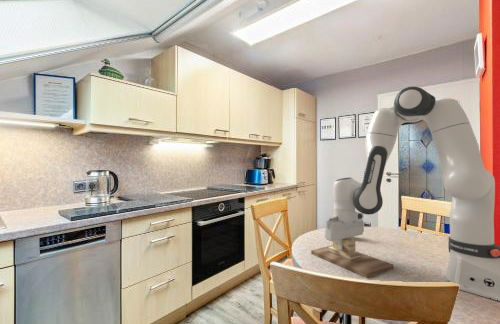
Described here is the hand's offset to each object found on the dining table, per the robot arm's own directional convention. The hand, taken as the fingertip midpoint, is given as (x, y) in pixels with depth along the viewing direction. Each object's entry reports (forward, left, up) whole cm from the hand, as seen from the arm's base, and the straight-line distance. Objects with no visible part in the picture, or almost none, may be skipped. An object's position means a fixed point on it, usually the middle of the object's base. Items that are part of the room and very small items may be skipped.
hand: (345, 248), depth 104 cm
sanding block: (+1, 0, -3) cm, 3 cm away
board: (-2, 0, -5) cm, 5 cm away
